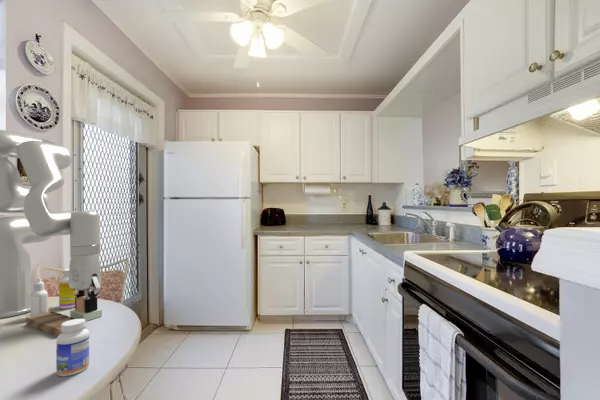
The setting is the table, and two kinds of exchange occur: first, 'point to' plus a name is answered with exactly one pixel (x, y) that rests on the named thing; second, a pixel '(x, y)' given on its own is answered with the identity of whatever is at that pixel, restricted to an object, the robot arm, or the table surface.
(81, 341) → the pill bottle
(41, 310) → the eye dropper bottle
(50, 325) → the board
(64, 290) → the supplement bottle
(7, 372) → the table surface
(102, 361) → the table surface
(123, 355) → the table surface
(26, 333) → the table surface
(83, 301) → the stub
